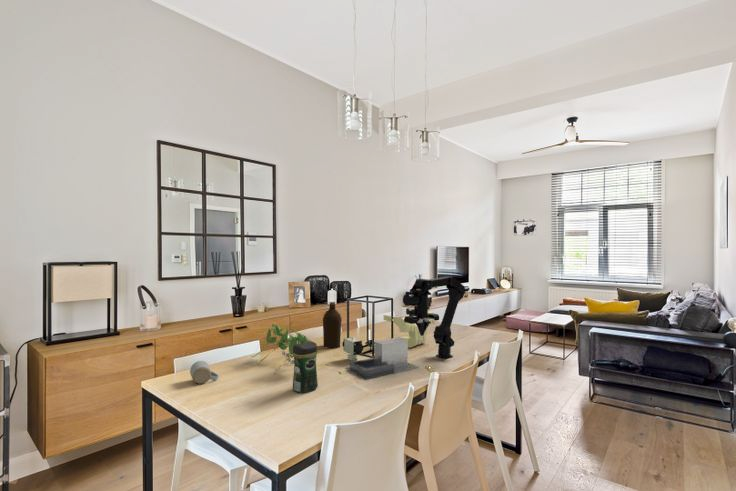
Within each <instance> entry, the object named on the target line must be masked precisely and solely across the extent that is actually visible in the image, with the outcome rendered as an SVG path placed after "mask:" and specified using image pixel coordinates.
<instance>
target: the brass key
mask: <svg viewBox="0 0 736 491" xmlns="http://www.w3.org/2000/svg"><path fill="white" fill-rule="evenodd" d="M424 368H425V369H427V370H428V371H430V373H434V372H433V371H435V370H434V369H433V368H432V366H430V365H428V366H427V365H425V367H424Z"/></svg>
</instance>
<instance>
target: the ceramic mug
mask: <svg viewBox="0 0 736 491" xmlns="http://www.w3.org/2000/svg"><path fill="white" fill-rule="evenodd" d="M189 373H190V376H191V380H193V382H194V383H196V384H199V385H202V384H203V385H204V384H205V383H207V382H208V381H209V380H212V381H216V380H218V379H219V374H217V373H216V372H214V371H212V370H211V367H210V364H208V363H207V362H206V361H204V360H197V361H196V362H194V363H192V365H191V367H190V369H189Z"/></svg>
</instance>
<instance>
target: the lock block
mask: <svg viewBox="0 0 736 491" xmlns="http://www.w3.org/2000/svg"><path fill="white" fill-rule="evenodd" d="M401 337H402V336H401ZM401 337H400V336H399V337H393V338H387V339H381V340H375V341H374V357H373V358H374V367H379V366H384V365H388V364H394V368H397V367H401V366H406V365H408V363H409V362H408V358H409V357H408V356H409V354H408V352H409V351H408V350H409V347H408V340H407V339H404V338H401Z"/></svg>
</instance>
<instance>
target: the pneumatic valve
mask: <svg viewBox="0 0 736 491" xmlns="http://www.w3.org/2000/svg"><path fill="white" fill-rule="evenodd" d="M341 345H342V347H343V352H345V353H348V354H347V359H348V360H349V361H350V362H355V361H358V355H361V354H362V352H363V351H364V345H363V340H360V339H358V338H355V337H345V338H343V341H342V344H341Z"/></svg>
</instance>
